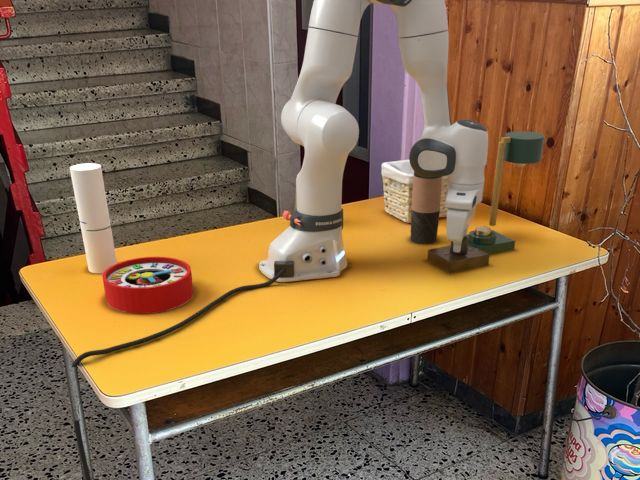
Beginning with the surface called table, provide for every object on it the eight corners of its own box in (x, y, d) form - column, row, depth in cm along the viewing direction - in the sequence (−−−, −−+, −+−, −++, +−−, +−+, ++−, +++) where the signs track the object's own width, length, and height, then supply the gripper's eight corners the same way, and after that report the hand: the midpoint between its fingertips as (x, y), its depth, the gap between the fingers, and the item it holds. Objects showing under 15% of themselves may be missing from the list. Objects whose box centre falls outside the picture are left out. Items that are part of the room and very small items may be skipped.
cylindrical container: (103, 261, 191) (85, 161, 177) (123, 266, 188) (107, 165, 174) (82, 270, 186) (63, 168, 172) (103, 275, 182) (84, 172, 169)
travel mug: (438, 244, 200) (445, 169, 189) (410, 244, 200) (415, 169, 189) (435, 235, 206) (441, 162, 195) (408, 235, 206) (412, 162, 196)
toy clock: (91, 266, 171) (173, 251, 180) (96, 289, 175) (176, 274, 183) (116, 295, 157) (204, 277, 165) (121, 320, 160) (206, 301, 168)
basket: (404, 226, 214) (407, 174, 206) (377, 211, 226) (379, 161, 218) (472, 214, 222) (478, 164, 214) (442, 201, 235) (446, 153, 226)
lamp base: (477, 257, 191) (479, 240, 189) (455, 246, 199) (456, 229, 196) (514, 250, 196) (516, 233, 193) (491, 239, 203) (493, 223, 201)
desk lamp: (501, 230, 196) (512, 142, 183) (478, 220, 203) (488, 134, 191) (539, 223, 200) (553, 136, 188) (515, 213, 208) (527, 129, 196)
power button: (480, 238, 191) (481, 232, 190) (471, 234, 194) (472, 227, 193) (493, 236, 193) (494, 229, 192) (483, 232, 196) (484, 225, 195)
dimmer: (449, 273, 182) (450, 261, 180) (426, 260, 190) (427, 249, 188) (488, 265, 186) (489, 253, 185) (465, 253, 194) (466, 241, 192)
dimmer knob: (469, 254, 185) (470, 239, 182) (451, 254, 184) (453, 240, 182) (465, 248, 188) (466, 234, 186) (448, 248, 188) (449, 234, 186)
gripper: (459, 180, 187) (453, 233, 195) (443, 202, 171) (438, 259, 179) (484, 182, 185) (477, 236, 193) (471, 205, 169) (464, 262, 177)
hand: (458, 247), depth 186 cm, fingers closed on dimmer knob, 4 cm apart
